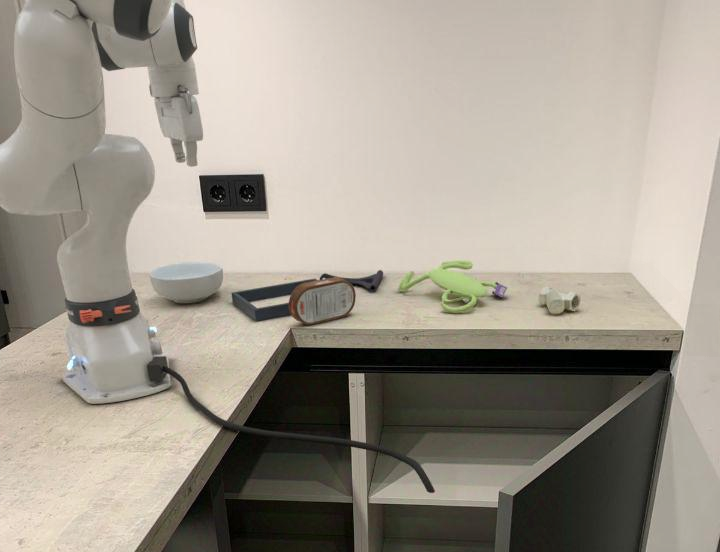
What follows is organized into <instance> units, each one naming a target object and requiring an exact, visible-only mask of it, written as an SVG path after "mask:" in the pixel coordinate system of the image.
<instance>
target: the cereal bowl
mask: <svg viewBox="0 0 720 552" xmlns="http://www.w3.org/2000/svg"><path fill="white" fill-rule="evenodd" d="M148 275H149V280H150V284H151V287H152V289H153V290H154V292H155V293H156V294H157V295H158V296H160V297H161V298H162V297H163V298H165V299H167V300H171V301H173V302H174V303H175V304H176V303H177V304H195V303H199V302H203V301H205V300H206V299H207V298H208V297H210V296H212V295H214V294H215V293H216V292H218V291H219V290H220V289H221V287H222V284H223V281H224V269H223V266H222V265H221V264H219V263H216V262H215V263H214V262H208V261H185V262H176V263H170V264H165V265H162V266H159V267H156V268H154V269H152V270H151V271H150V272H149V273H148Z"/></svg>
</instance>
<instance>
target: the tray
mask: <svg viewBox="0 0 720 552" xmlns="http://www.w3.org/2000/svg"><path fill="white" fill-rule="evenodd" d="M317 280H318V279H317V278H310V279H309V278H308V279H303V280H298V281H292V282H286V283H280V284H273V285H267V286H263V287H261V286H260V287H256V288H251V289H250V288H249V289H244V290H237V291H233V292H231V293H230V294H231V300H232V304H233V305H234V306H236V307H237V308H238V309H240V310H241V311H242V312H244V313H245V314H246V315H247V316H248V317H250V318H251V319H252V320H254V321H255V322H260V321H266V320H270V319H275V318H277V319H278V318H281V317H287V316H292V315H291V313H290V310H289V302H284V303H279V304H273V305H267V306H263V307H257V306H255V305H254V304H252V303H251V302H253V301H259V300H265V299H272V298H277V297H283V296H288V295H291V294H292V292H293V291H294V289H295V288H296V287H297V286H299V285H300V284H303V283H306V282H312V281H317Z"/></svg>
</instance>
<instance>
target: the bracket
mask: <svg viewBox="0 0 720 552" xmlns="http://www.w3.org/2000/svg"><path fill="white" fill-rule="evenodd" d="M383 276H384V271H383V270H382V269H379V270H377V272H376V273H374V274H371V275H368V276H364V277H355V278H354V277H353V278H352V277H343V276H340V277H341V278H343V279H345V280H346V281H348V282H349V283H351V284H352V286H362V287H364V288H366V289H367V290H369V291H370V292H371V293H373V292H376V291H377V289H378V287H379V285H380V282H381V280H382V278H383ZM333 277H338V276H337V275H332V274H328V273H325V272H324V273H322V274H321V275H320V277H319V279H318V280H323V279H328V278H333Z"/></svg>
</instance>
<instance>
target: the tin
mask: <svg viewBox="0 0 720 552" xmlns="http://www.w3.org/2000/svg"><path fill="white" fill-rule="evenodd" d="M341 277H342V276H337V277H333V278H328V279H325V278H323V280H319V279H317V281H312V282H306V283H303V284H300V285H299V286H297V287H296V288H295V289H294V291H293V292H292V294H290V296H289V299H288V303H289V310H290V313H291V315H290V316H291V317H292V318H293V319H294V320H296V321H297V322H300V323H301V324H304V325H316V324H319V323H324V322H329V321H333V320H338V319H342V318H344V317H346V316H348V315H349V314H351V312H352V311H353V309H354V307H355V305H356V295H357V294H356V290H355V287H354V285H352V284H351V283H349V282H348V281H346V280H345V279H343V278H344V277H343V278H341Z"/></svg>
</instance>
